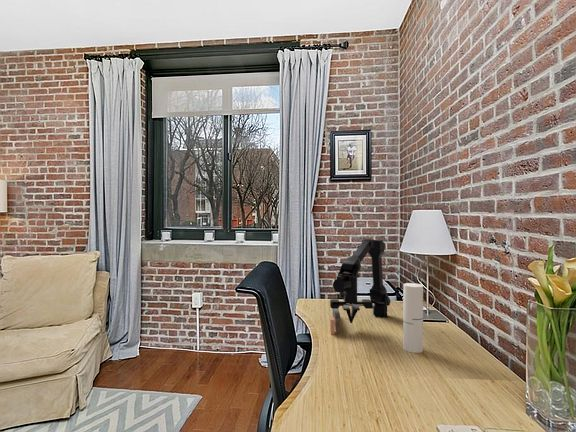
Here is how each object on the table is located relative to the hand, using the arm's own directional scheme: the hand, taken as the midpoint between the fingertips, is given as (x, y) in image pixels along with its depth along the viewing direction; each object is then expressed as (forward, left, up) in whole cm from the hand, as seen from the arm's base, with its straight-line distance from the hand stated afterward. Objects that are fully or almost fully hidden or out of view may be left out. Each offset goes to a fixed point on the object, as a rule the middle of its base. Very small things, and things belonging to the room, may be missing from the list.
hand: (350, 322), depth 148 cm
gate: (+6, -2, -3) cm, 7 cm away
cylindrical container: (-22, +19, -4) cm, 29 cm away
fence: (+7, -7, -3) cm, 11 cm away
